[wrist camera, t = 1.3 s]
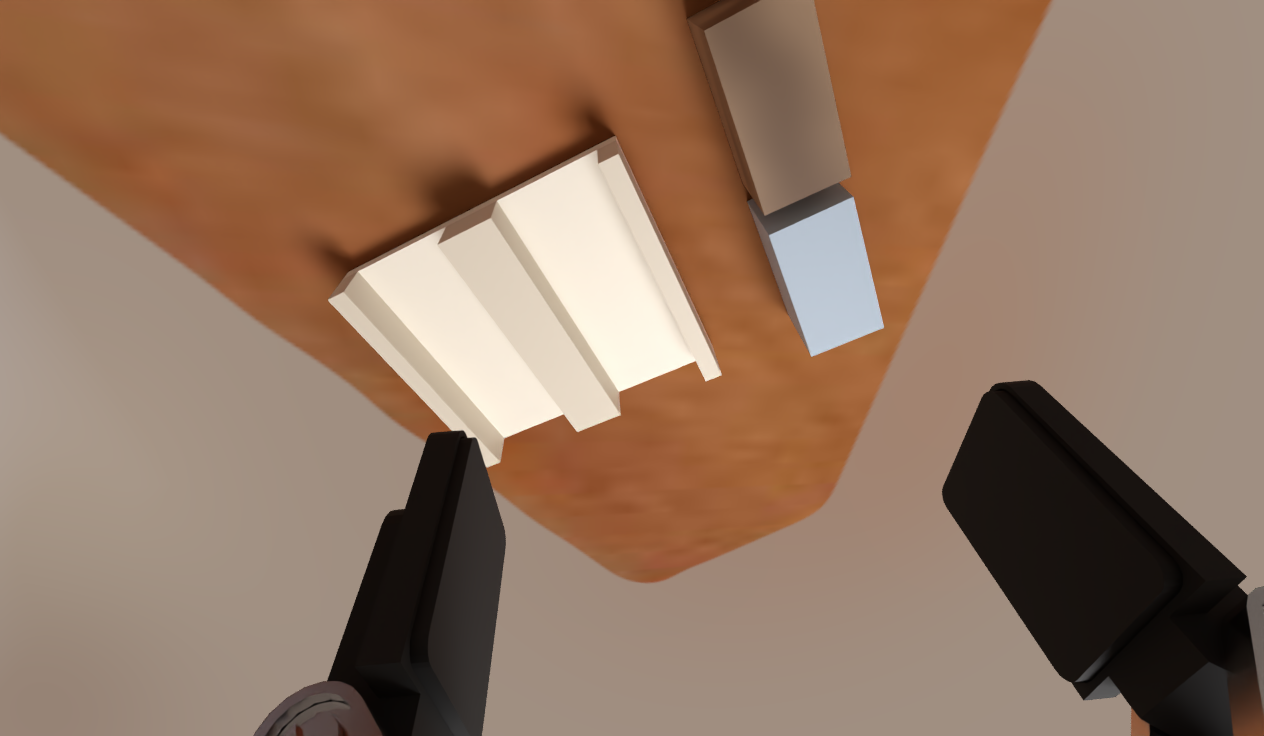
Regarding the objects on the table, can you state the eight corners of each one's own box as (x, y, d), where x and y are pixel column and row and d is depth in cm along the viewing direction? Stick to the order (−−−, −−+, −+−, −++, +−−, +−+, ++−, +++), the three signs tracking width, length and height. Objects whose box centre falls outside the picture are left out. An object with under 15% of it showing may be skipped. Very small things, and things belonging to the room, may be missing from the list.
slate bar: (819, 165, 28) (853, 196, 25) (851, 286, 33) (884, 327, 29) (746, 200, 29) (769, 235, 26) (787, 313, 34) (811, 356, 30)
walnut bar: (773, -30, 23) (808, -26, 20) (816, 147, 28) (851, 176, 24) (686, 18, 24) (703, 30, 20) (741, 182, 29) (764, 215, 25)
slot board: (615, 135, 27) (618, 153, 24) (712, 345, 35) (721, 374, 32) (347, 272, 30) (327, 299, 28) (493, 435, 38) (487, 467, 36)
